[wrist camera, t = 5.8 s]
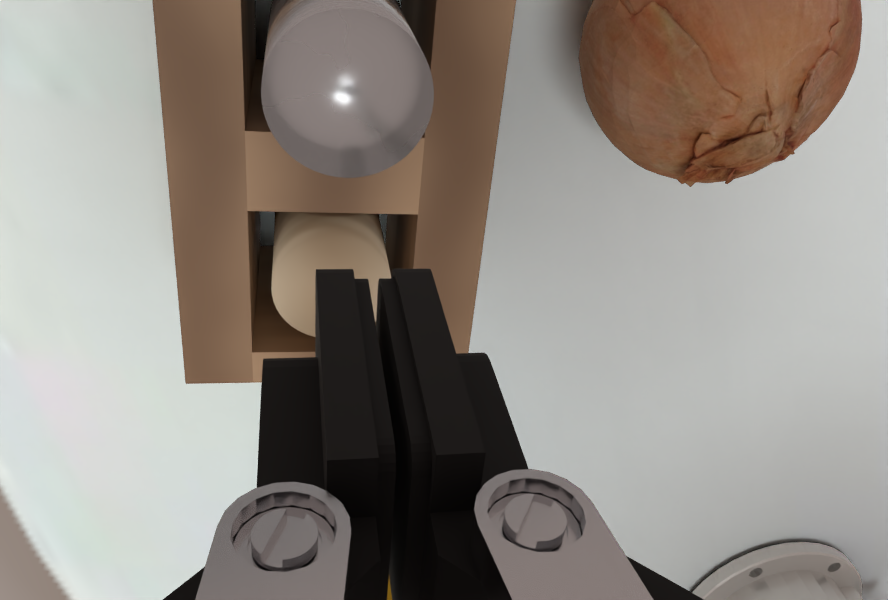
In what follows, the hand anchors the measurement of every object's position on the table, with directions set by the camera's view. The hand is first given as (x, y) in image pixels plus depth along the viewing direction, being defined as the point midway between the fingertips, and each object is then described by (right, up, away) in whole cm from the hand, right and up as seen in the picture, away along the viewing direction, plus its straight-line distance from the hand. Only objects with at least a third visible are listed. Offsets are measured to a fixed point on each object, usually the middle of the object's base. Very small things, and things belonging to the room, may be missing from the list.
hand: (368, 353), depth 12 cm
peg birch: (-4, +5, +21) cm, 23 cm away
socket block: (-4, +9, +20) cm, 22 cm away
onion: (+10, +12, +20) cm, 26 cm away
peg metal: (-2, +10, +13) cm, 17 cm away
